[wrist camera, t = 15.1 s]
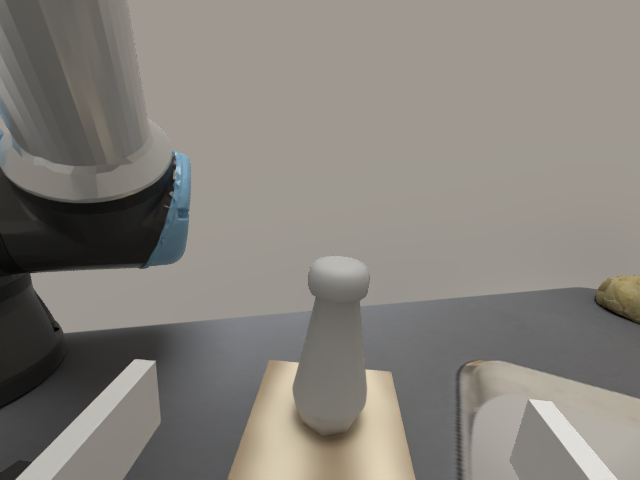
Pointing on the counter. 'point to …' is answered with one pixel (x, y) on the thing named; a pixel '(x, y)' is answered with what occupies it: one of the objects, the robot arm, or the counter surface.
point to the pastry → (621, 296)
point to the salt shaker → (333, 348)
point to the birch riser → (311, 448)
